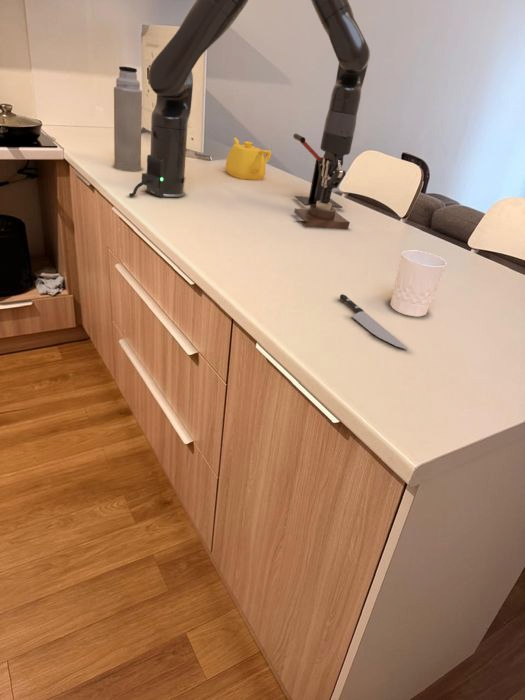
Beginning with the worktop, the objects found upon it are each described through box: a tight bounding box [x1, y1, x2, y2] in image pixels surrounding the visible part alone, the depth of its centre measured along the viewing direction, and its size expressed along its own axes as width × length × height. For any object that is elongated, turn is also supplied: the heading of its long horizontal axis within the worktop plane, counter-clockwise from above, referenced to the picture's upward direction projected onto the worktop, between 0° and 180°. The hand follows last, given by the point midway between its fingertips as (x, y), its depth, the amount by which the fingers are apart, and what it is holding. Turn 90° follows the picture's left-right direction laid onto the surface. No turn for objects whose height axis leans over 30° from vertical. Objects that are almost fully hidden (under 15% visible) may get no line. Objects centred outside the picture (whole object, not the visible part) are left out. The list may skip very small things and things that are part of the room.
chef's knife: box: [339, 293, 409, 350], centre depth 86 cm, size 19×1×3 cm
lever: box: [293, 133, 322, 161], centre depth 144 cm, size 14×6×2 cm
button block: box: [293, 204, 350, 230], centre depth 135 cm, size 12×10×4 cm
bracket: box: [294, 156, 343, 209], centre depth 149 cm, size 12×9×13 cm
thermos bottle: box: [113, 66, 143, 172], centre depth 152 cm, size 8×8×28 cm
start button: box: [316, 201, 332, 210], centre depth 134 cm, size 4×4×2 cm
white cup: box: [389, 249, 448, 317], centre depth 92 cm, size 8×8×10 cm
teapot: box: [225, 137, 272, 181], centre depth 172 cm, size 22×16×11 cm
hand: (324, 201), depth 134 cm, fingers closed
